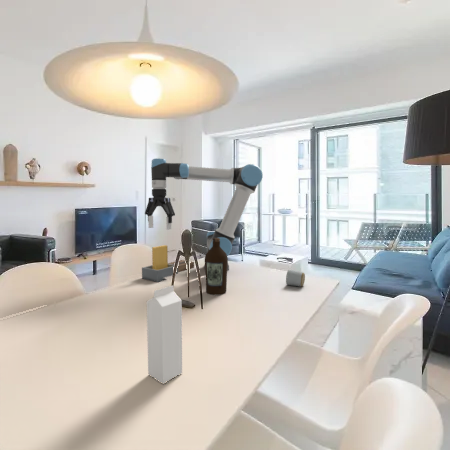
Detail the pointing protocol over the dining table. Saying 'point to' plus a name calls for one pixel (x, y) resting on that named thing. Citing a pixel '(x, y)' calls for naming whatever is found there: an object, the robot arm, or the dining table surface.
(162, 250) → the yellow rectangular slab
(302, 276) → the grey cylinder
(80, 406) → the dining table surface
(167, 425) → the dining table surface
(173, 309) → the milk
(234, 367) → the dining table surface
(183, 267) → the dispenser
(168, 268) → the bin
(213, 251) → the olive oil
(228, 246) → the robot arm
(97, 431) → the dining table surface
